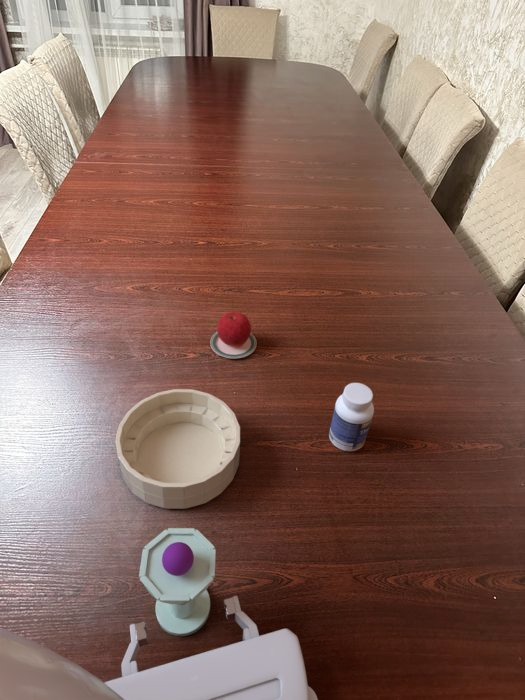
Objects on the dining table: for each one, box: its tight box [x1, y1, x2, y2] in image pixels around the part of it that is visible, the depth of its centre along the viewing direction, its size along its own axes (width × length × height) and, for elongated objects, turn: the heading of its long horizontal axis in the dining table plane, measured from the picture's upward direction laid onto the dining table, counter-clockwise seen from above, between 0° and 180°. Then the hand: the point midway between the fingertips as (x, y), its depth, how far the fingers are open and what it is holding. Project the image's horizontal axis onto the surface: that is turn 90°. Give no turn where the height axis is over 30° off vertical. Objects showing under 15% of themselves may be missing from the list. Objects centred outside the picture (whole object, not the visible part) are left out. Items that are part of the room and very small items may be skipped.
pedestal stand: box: [138, 527, 217, 637], centre depth 54 cm, size 7×7×11 cm
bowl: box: [114, 388, 241, 510], centre depth 71 cm, size 16×16×6 cm
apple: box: [209, 311, 257, 360], centre depth 89 cm, size 8×8×6 cm
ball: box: [162, 542, 194, 576], centre depth 50 cm, size 3×3×3 cm
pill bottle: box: [328, 382, 375, 452], centre depth 74 cm, size 5×5×10 cm
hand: (184, 611), depth 53 cm, fingers open, 8 cm apart
